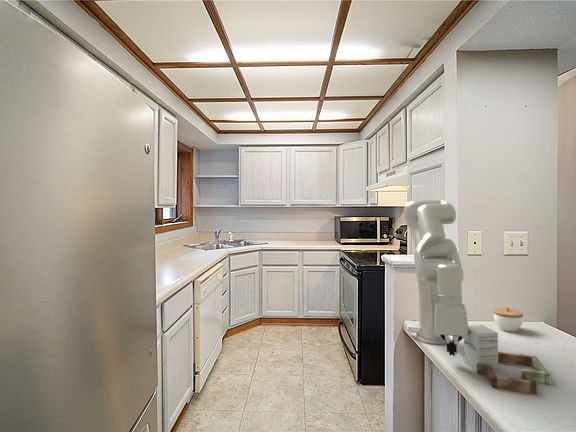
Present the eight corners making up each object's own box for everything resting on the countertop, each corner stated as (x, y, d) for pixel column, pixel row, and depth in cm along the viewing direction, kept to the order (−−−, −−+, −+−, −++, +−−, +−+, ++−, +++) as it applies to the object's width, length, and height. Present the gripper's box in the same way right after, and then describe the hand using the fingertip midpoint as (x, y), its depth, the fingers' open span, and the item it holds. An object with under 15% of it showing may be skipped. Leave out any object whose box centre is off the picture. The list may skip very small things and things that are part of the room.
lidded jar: (529, 333, 137) (529, 310, 137) (503, 334, 137) (503, 311, 137) (512, 324, 148) (511, 303, 148) (488, 325, 148) (487, 304, 148)
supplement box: (463, 362, 113) (462, 325, 113) (484, 360, 114) (483, 324, 114) (477, 372, 106) (476, 333, 106) (499, 371, 106) (498, 332, 106)
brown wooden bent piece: (491, 387, 96) (491, 377, 96) (486, 375, 104) (486, 365, 104) (536, 394, 92) (536, 383, 92) (528, 380, 100) (527, 370, 100)
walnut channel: (477, 374, 104) (477, 365, 104) (471, 357, 116) (471, 348, 116) (550, 384, 97) (550, 374, 97) (535, 365, 109) (535, 355, 109)
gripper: (426, 301, 112) (428, 355, 111) (476, 304, 106) (478, 361, 106) (425, 296, 119) (427, 348, 118) (472, 299, 113) (475, 353, 113)
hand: (451, 354), depth 112 cm, fingers closed
